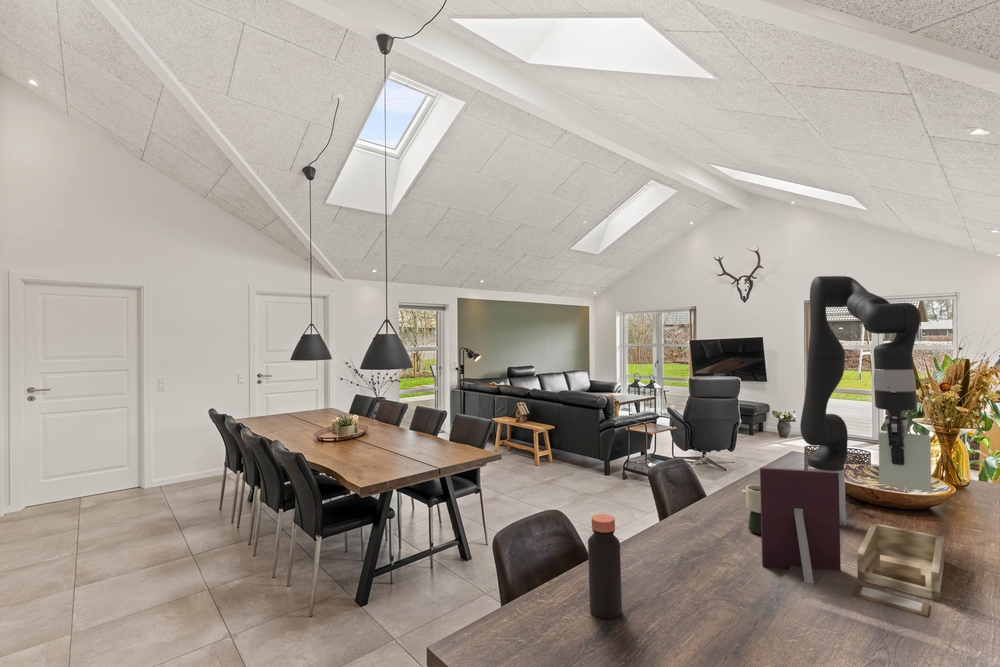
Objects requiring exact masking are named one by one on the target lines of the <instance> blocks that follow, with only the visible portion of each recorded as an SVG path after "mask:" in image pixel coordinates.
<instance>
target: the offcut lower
mask: <svg viewBox="0 0 1000 667" xmlns="http://www.w3.org/2000/svg"><path fill="white" fill-rule="evenodd" d="M872 571H873V573H874V574H878V575H881V576H885V577H889V578H893V579H897V580H901V581H904V582H908V583H912V584H916V585H920V586H924V587H926V581H925V575H922V574H921V580H919V579H915V578H910V577H906V576H901V575H897V574H892V573H888V572H883V571H880V564H877V563H874V566H873V568H872Z"/></svg>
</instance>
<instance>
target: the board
mask: <svg viewBox="0 0 1000 667" xmlns="http://www.w3.org/2000/svg"><path fill="white" fill-rule="evenodd" d="M853 597H856V598H859V599H863V600H866V601H870V602H873V603H878V604H881V605H884V606H887V607H891V608H894V609H897V610H901V611H904V612H908V613H910V614H915V615H917V616H920V617H921V616H922V617H924V618H929V617H928V616H929V610H930V602H925V601H922V600H919V599H915V598H911V597H908V596H904V595H901V594H898V593H897V594H896V593H895V592H890V591H886V590H883V589H878V588H876V587H871V586H868V585H865V584H860V583H857V586H856V588H855V591H854V593H853Z"/></svg>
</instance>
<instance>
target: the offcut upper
mask: <svg viewBox="0 0 1000 667" xmlns="http://www.w3.org/2000/svg"><path fill="white" fill-rule="evenodd" d="M880 571H883V572H888V573H892V574H897V575H901V576H906V577H910V578H915V579H919V580H921V568H920V563H918V562H913V561H908V560H903V559H898V558H893V557H889V556H884V555H880Z"/></svg>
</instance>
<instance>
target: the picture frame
mask: <svg viewBox="0 0 1000 667" xmlns="http://www.w3.org/2000/svg"><path fill="white" fill-rule="evenodd" d="M759 482H760V484H759V485H760V495H761V565H762V567H763V568H769V569H778V570H779V569H780V570H785V571H788V570H790V568H791V567H800V568H802V573H803V580H804V583H807V584H813V585H814V584H815V582H814V576H813V569H818V570H826V571H834V572H835V571H836V572H841V568H842V567H841V564H842V563H841V525H840V511H839V473H838V472H831V471H814V470H808V469H795V468H794V469H793V468H779V467H778V468H776V467H775V468H773V467H759Z"/></svg>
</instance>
